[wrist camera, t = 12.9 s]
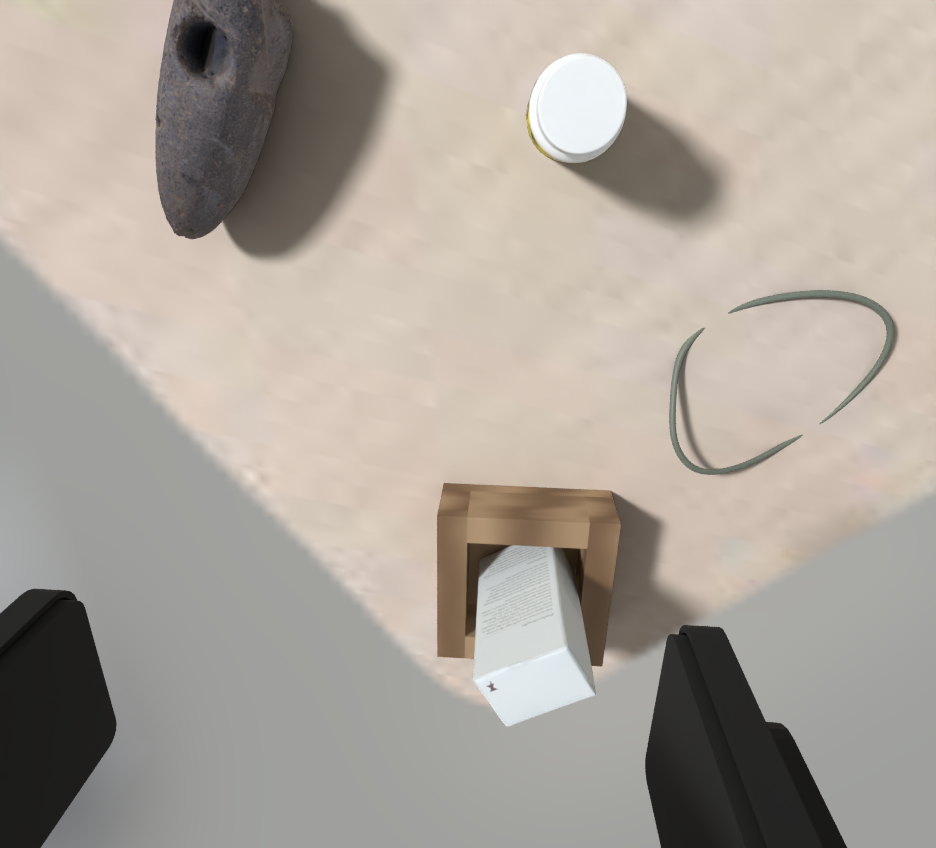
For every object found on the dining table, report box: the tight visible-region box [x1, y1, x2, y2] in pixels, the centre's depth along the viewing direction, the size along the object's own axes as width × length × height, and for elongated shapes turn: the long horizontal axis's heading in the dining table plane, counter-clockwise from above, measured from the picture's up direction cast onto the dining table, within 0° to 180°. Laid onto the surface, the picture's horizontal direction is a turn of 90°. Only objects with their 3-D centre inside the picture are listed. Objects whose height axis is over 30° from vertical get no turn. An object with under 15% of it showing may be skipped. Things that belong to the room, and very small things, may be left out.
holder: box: [437, 483, 621, 666], centre depth 45 cm, size 12×12×4 cm
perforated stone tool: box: [155, 0, 293, 239], centre depth 33 cm, size 15×5×7 cm, turn 155°
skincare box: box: [473, 545, 596, 727], centre depth 41 cm, size 6×4×12 cm
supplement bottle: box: [526, 53, 627, 163], centre depth 32 cm, size 5×5×8 cm
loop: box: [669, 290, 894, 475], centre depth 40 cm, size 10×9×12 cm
